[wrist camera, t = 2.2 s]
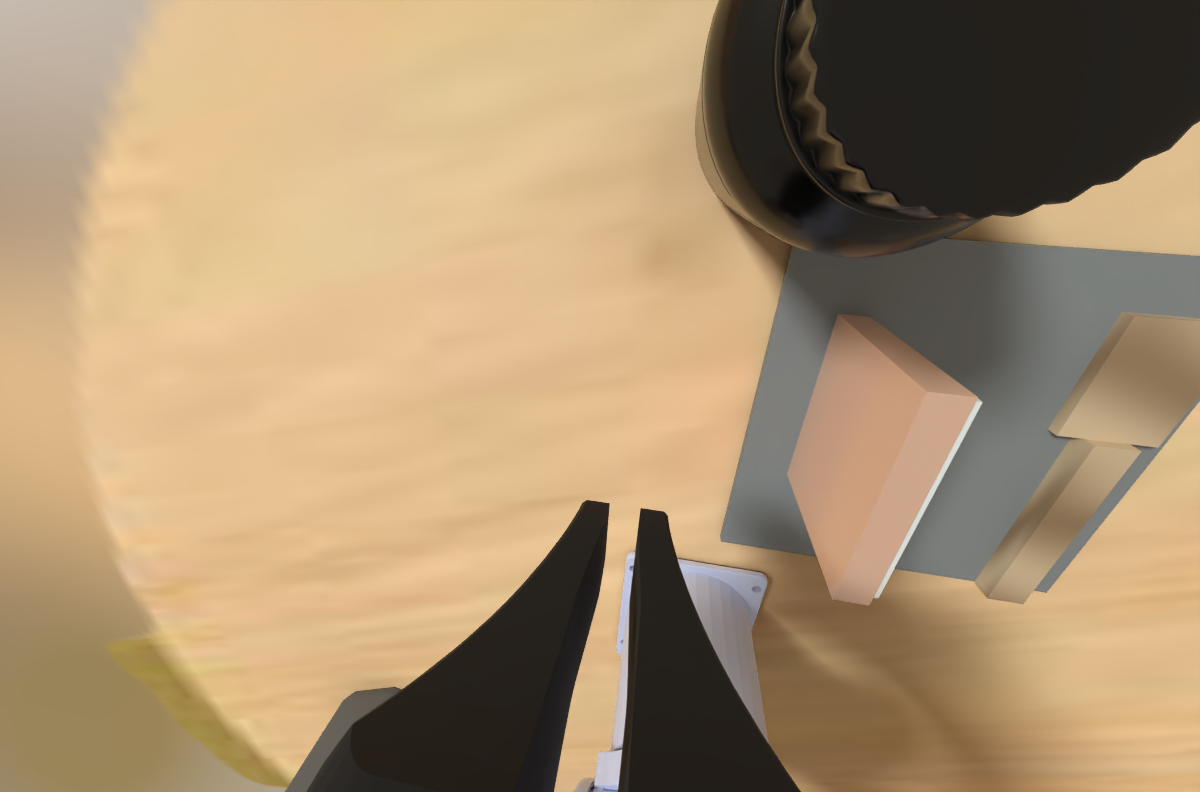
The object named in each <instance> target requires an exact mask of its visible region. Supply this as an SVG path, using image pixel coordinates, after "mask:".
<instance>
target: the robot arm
mask: <svg viewBox="0 0 1200 792" xmlns="http://www.w3.org/2000/svg"><path fill="white" fill-rule="evenodd" d="M608 516H609V503H603V502H596V501H590V500H586V501H585V502H583V503H582V505H581V507H580V509H579V511H578V512H577V514H576V516H575V517H574V519H573V520H572V522H571V523H570V525H569V526H568V528H567V529H566V531H565V532H564V534H563V535H562V537H561V538H560V539H559V541H558V542H557V543H556V544H555V546H554V547H553V548H552V550H551V551H550V552H549V554H548V555H547V556H546V558H545V559H544V560H543V561H542V563H541V564H540V565H539V566H538V567H537V568H536V569H535V571H534V572H533V573H532V574H531V575H530V576H529V578H528V579H527V580H526V581H525V582H524V583H523V585H522V586H521V587H520V588H519V589H518V590H517V591H516V592H515V593H514V594H513V595H512V596H511V597H510V598H509V599H508V600H507V601H506V602H505V603H504V604H503V605H502V606H501V607H500V608H499V609H498V610H497V611H496V612H495V613H494V614H493V615H492V616H491V617H490V618H489V619H488V620H487V621H486V622H485V623H484V624H482V625H481V626H480V627H479V628H478V629H477V630H476V631H475V632H474V633H473V634H471V635H470V636H469V637H468V638H467V639H466V640H465V641H463V642H462V643H461V644H460V645H459V646H458V647H456V648H455V649H454V650H453V651H451V652H450V653H449V654H448V655H446V656H445V657H444V658H443V659H441V660H440V661H439V662H437V663H436V664H435V665H434V666H432V667H431V668H430V669H429V670H427V671H426V672H425V673H423V674H422V675H421V676H420V677H418V678H417V679H416V680H414V681H413V682H412V683H410V684H409V685H408V686H406V687H405V688H403V689H402V690H400V691H399V692H398V693H396V694H395V695H393V696H392V697H390V698H389V699H387V700H386V701H385V702H383V703H382V704H380V705H379V706H377V707H376V708H374V709H373V710H371V711H370V712H369V713H367V714H366V715H364V716H363V717H361V718H360V719H358V720H357V721H355V722H354V723H353V724H352V725H351V726H350V728H349V729H348V730H347V732H346V733H345V734H344V736H343V737H342V738H341V740H340V741H339V743H338V744H337V745H336V747H335V748H334V750H333V751H332V752H331V754H330V755H329V756H328V758H327V759H326V760H325V762H324V763H323V765H322V766H321V768H320V770H319V771H318V773H317V775H316V776H315V778H314V780H313V781H312V783H311V785H310V786H309V788H308V790H307V791H306V792H554V788H555V782H556V777H557V771H558V766H559V761H560V755H561V750H562V744H563V739H564V734H565V728H566V723H567V718H568V713H569V707H570V702H571V698H572V694H573V689H574V685H575V681H576V677H577V674H578V670H579V666H580V663H581V659H582V655H583V652H584V648H585V645H586V641H587V637H588V634H589V630H590V626H591V623H592V619H593V615H594V612H595V608H596V604H597V601H598V597H599V592H600V586H601V580H602V574H603V568H604V562H605V554H606V541H607V529H608ZM767 585H768V581H767V577H766V575H764V574H763V573H760V572H755V571H749V570H743V569H737V568H731V567H724V566H718V565H712V564H706V563H700V562H694V561H688V560H682V559H677V556H676V553H675V549H674V545H673V542H672V538H671V533H670V529H669V523H668V516H667V515H666V513H665V512H662V511H656V510H649V509H642V508H641V511H640V519H639V527H638V535H637V543H636V551H635V552H631V553H629V554H628V555H627V558H626V566H625V575H624V584H623V593H622V602H621V611H620V620H619V629H618V638H617V647H616V651H617V652H618V653H619V654H620V655H622V657H621V665H620V673H619V682H618V690H617V699H616V707H615V715H614V724H613V732H612V740H611V749H610V751H600V752H599V755H598V762H597V769H596V776H595V778H585V779H583V780H582V781H580V783H579V784H578V785H577V787H576V788H575V790H574V792H801V791H800V790H799V788H798V787H797V786H796V784H795V783H794V781H793V780H792V778H791V777H790V775H789V774H788V772H787V771H786V770H785V768H784V767H783V765H782V763H781V762H780V760H779V759H778V757H777V756H776V754H775V753H774V751H773V750H772V748H771V747H770V745H769V741H768V735H767V728H766V722H765V716H764V709H763V703H762V697H761V690H760V684H759V678H758V671H757V665H756V659H755V652H754V646H753V640H752V633H751V631H752V628H753V625H754V623H755V620H756V617H757V614H758V611H759V608H760V605H761V602H762V599H763V596H764V593H765V590H766V588H767ZM755 586H758V587H755Z"/></svg>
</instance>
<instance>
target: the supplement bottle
mask: <svg viewBox="0 0 1200 792" xmlns="http://www.w3.org/2000/svg"><path fill="white" fill-rule="evenodd" d="M1199 121H1200V0H719V1H718V4H717V7H716V10H715V13H714V16H713V20H712V24H711V27H710V31H709V35H708V40H707V45H706V51H705V56H704V62H703V68H702V75H701V81H700V88H699V94H698V101H697V108H696V118H695V136H696V147H697V153H698V157H699V161H700V165H701V167H702V170H703V173H704V175H705V177H706V179H707V181H708V183H709V185H710V186H711V188H712V189H713V191H714V192H715V193H716V195H717V196H718V197H719V198H720V199H721V200H722V201H723V202H724V203H725V204H726V205H727V206H728V207H729V208H730V209H731V210H733V211H734V212H735V213H737V214H738V215H740V216H742V217H743V218H745V219H746V220H748V221H749V222H751V223H753V224H754V225H756V226H757V227H759V228H760V229H762V230H764V231H765V232H767V233H768V234H770V235H772V236H773V237H775V238H777V239H779V240H781V241H783V242H785V243H787V244H789V245H792V246H794V247H797V248H800V249H803V250H806V251H810V252H814V253H818V254H822V255H828V256H835V257H849V258H862V257H877V256H884V255H890V254H896V253H900V252H904V251H908V250H913V249H916V248H919V247H922V246H925V245H928V244H931V243H934V242H936V241H939V240H941V239H944V238H946V237H949V236H951V235H953V234H955V233H957V232H959V231H961V230H963V229H965V228H967V227H969V226H971V225H973V224H975V223H976V222H978V221H980V220H981V219H983V218H985V217H989V216H991V215H998V216H1009V217H1013V216H1019V215H1022V214H1024V213H1027V212H1029V211H1031V210H1033V209H1035V208H1037V207H1039V206H1041V205H1043V204H1060V203H1066V202H1069V201H1071V200H1072V199H1074V198H1076V197H1077V196H1079V195H1080V194H1082V193H1083V192H1085V191H1086V190H1088V189H1089V188H1091V187H1092V186H1094V185H1101V184H1106V183H1110V182H1113V181H1117V180H1119V179H1120V178H1122V177H1123V176H1124V175H1125V174H1127V173H1128V172H1129V171H1130V170H1132V169H1133V168H1134V167H1135V166H1136V165H1137V164H1138V163H1140V162H1141V161H1142V160H1144V159H1147V158H1150V157H1152V156H1155V155H1158V154H1160V153H1162V152H1165V151H1167V150H1169V149H1170V148H1171V147H1172V146H1173V145H1174V144H1175V143H1176V142H1177V141H1178V140H1179V139H1180V138H1181V137H1182V136H1183V135H1184V134H1185V133H1186V132H1187V131H1188V130H1189V129H1190V128H1191V127H1192V126H1193V125H1194V124H1196V123H1198V122H1199Z"/></svg>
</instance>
